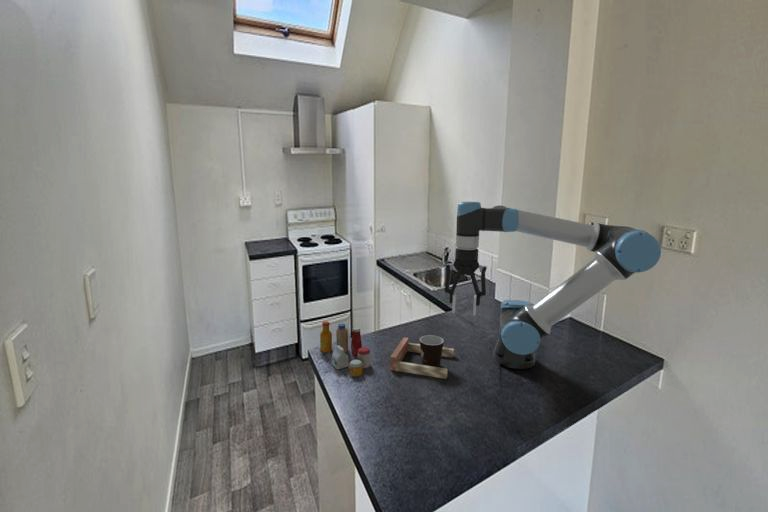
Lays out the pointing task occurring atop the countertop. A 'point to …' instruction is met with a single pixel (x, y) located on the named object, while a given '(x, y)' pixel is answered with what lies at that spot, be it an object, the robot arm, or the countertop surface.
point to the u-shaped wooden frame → (416, 368)
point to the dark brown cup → (431, 350)
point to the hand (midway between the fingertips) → (464, 312)
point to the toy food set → (345, 348)
